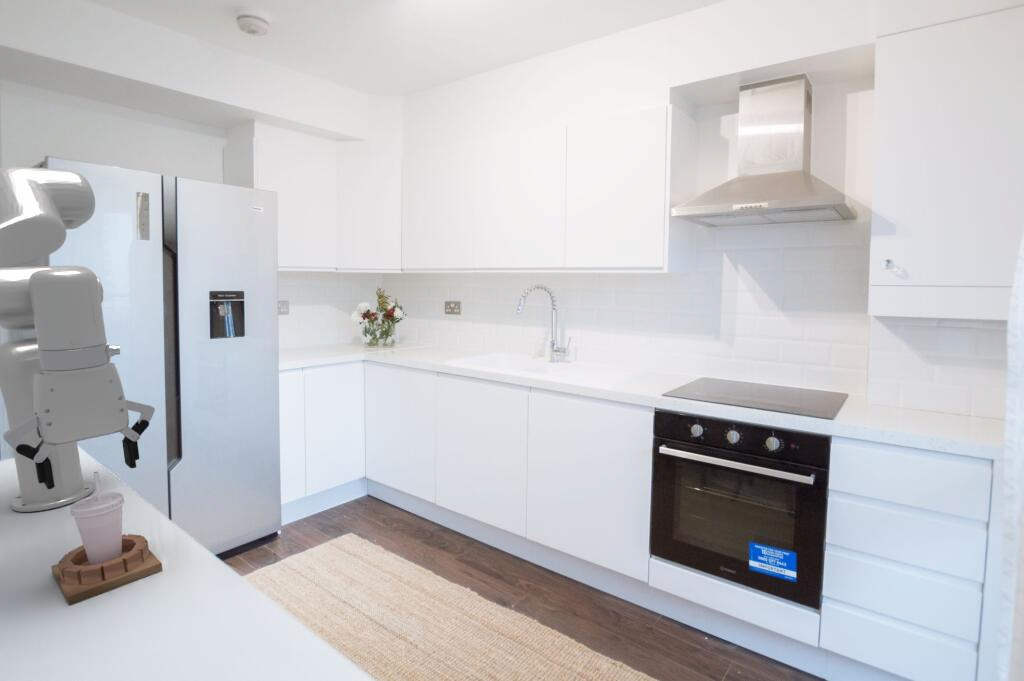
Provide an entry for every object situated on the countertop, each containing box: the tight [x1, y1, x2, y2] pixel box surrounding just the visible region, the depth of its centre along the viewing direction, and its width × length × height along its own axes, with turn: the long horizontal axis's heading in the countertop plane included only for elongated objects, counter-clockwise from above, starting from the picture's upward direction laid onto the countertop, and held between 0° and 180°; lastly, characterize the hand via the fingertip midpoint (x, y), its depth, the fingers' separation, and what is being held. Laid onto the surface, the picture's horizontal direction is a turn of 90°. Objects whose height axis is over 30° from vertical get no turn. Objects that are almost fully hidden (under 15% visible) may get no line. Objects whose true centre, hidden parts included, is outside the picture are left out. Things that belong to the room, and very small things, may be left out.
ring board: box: [51, 533, 163, 606], centre depth 84 cm, size 12×11×3 cm
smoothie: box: [69, 471, 125, 565], centre depth 83 cm, size 6×6×14 cm
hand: (91, 475), depth 82 cm, fingers open, 9 cm apart
